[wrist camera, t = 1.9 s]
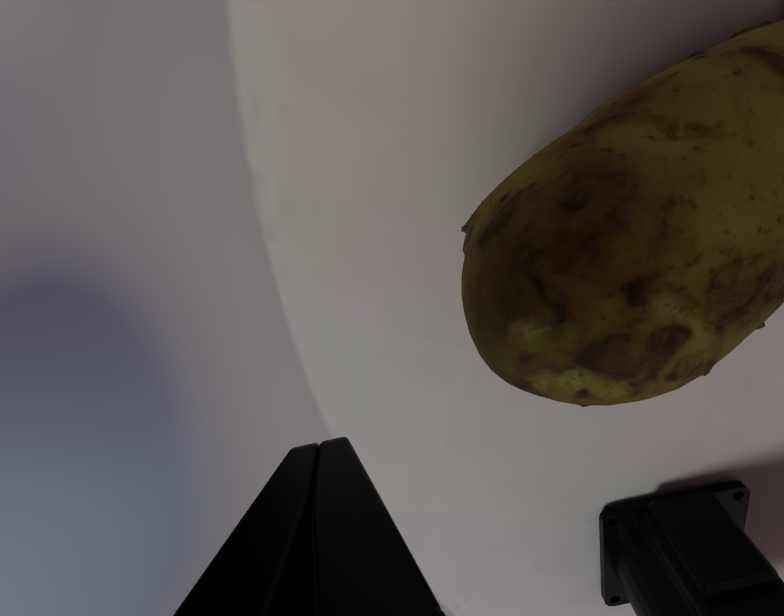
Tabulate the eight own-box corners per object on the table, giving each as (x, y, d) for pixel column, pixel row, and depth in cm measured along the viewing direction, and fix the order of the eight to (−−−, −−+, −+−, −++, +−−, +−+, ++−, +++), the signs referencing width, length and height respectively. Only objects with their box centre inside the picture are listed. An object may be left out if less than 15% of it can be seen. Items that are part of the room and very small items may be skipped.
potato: (810, 259, 18) (1097, 400, 11) (444, 317, 19) (498, 491, 11) (876, -18, 15) (1373, -72, 7) (413, 58, 15) (466, 78, 8)
